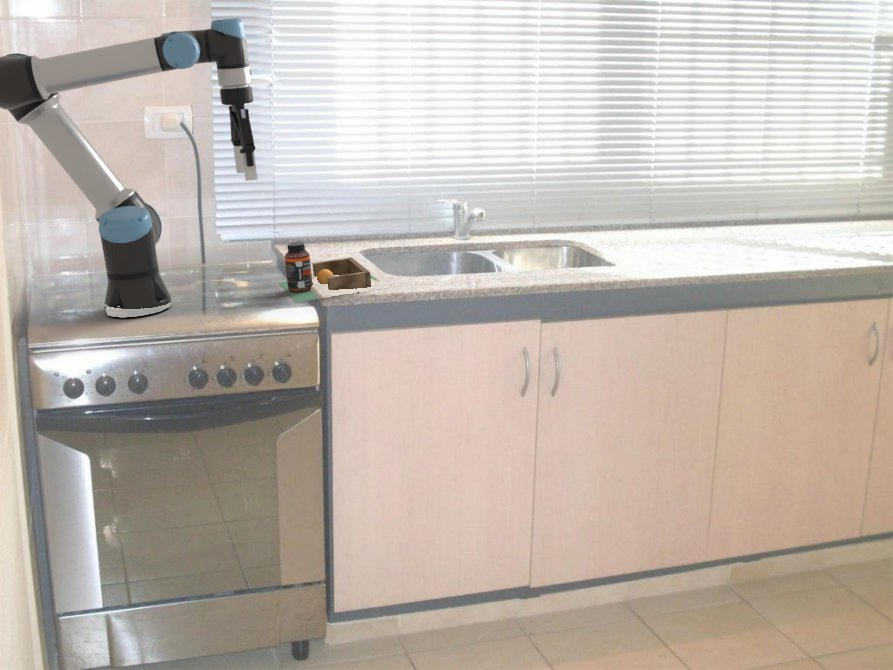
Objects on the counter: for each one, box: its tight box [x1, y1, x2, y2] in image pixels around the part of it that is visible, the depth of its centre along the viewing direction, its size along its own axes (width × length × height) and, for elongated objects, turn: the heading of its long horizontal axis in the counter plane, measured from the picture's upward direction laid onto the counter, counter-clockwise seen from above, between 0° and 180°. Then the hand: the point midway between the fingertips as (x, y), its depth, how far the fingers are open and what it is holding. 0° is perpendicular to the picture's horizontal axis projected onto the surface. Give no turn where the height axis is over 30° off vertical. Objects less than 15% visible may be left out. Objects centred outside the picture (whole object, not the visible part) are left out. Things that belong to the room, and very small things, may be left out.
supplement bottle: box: [284, 241, 313, 292], centre depth 265 cm, size 6×6×11 cm
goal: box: [311, 256, 371, 290], centre depth 269 cm, size 10×18×4 cm, turn 19°
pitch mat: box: [279, 273, 380, 304], centre depth 268 cm, size 22×21×1 cm
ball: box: [317, 269, 334, 284], centre depth 268 cm, size 4×4×4 cm
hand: (246, 176), depth 269 cm, fingers open, 13 cm apart
